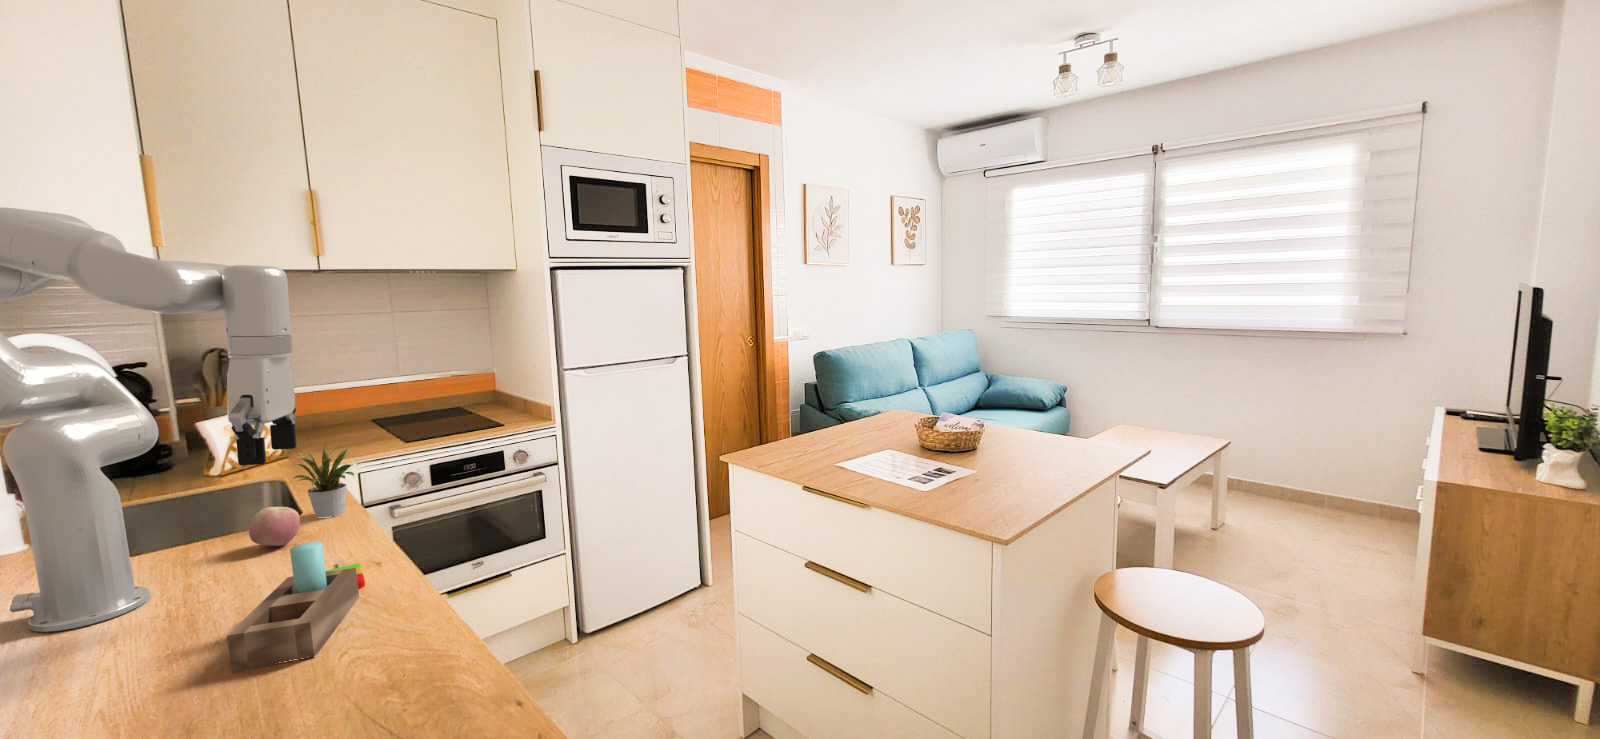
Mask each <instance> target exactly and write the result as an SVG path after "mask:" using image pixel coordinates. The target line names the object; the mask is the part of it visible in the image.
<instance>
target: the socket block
mask: <svg viewBox="0 0 1600 739" xmlns="http://www.w3.org/2000/svg"><path fill="white" fill-rule="evenodd" d="M326 581H327V588H326V589H324V590H317V591H310V592H303V593H296V594H295V586H294V578H293V575H292V576H288V577H287V578H285V579H284V580H283V581H282V582H281V583H280V584H279V585H278V586H277V587H276V588H275V589H274V590H273V591H272V592H271V593H270V594H268V596H266V598H265V599H264V600H262V601H261V602H260V603H259V604H258V605H257V606H256V607H255V608H254V609H253V610H252V611H251V612H250V613H249V614H248V615H246V616H245V617H244V618H243V619H242V620H241V621H240V622H239V623H238V624H237V625H236V626H235V627H234V628H233V629H232V630H231V631H229V632H228V633H227V634H226V639H227V640H226V641H227V649H228V655H229V663H230V669H231V672H232V673H233V671H234V672H238V670H239V671H243V670H251V669H256V668H255V667H257V668H262V667H267V666H266V665H268V666H272V665H271V664H274V665H277V664H276V663H279V662H284V661H289V660H294V659H301V658H307V657H314V656H315V655H316V654H317V655H318V654H319V652H320V651H321V650H322V648H323V647H324V645H325V644H326V643H327V641H329V639H330V637H331V636H332V635H333V633H334V632H335V630H337V628H338V626H339V625H340V624H341V623H342V622H343V620H344V619H345V617H346V616H347V614H348V613H349V612H350V611H351V609H352V607H354V605H355V604H356V602H357V601H358V600H359V598H360V592H359V589H358V582H357V573H356V568H350V569H343V570H336V571H328V572H326ZM317 655H316V656H317ZM316 656H315V657H316ZM315 657H314V658H315Z"/></svg>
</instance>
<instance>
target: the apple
mask: <svg viewBox="0 0 1600 739" xmlns="http://www.w3.org/2000/svg"><path fill="white" fill-rule="evenodd" d="M249 522H250V523H249V527H248V537H249V538H250V540H251V541H252V543H254V544H257V545H262V546H269V547H281V546H284V545H288V543H289V542H291V541H292V540H293V539H294V537H295V536H296V535H297V533H298V531H299V529H300V525H301V517H300V514H299V512H298V511H297V510H295V509H294V508H293V507H288V506H268V507H264V508H262V509H261V510H259V511H257V512H256V513H255V514H254V516H253V517H251V520H250V521H249Z"/></svg>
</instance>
